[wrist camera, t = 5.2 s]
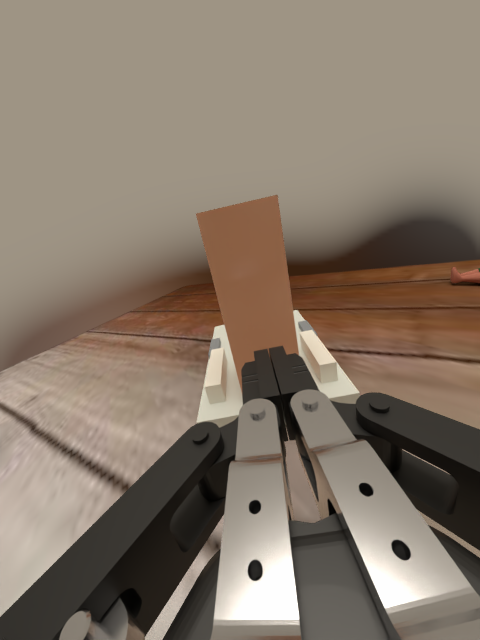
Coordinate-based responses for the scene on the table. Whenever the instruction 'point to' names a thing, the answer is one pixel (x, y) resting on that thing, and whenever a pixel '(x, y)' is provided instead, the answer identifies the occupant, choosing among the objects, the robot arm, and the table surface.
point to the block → (250, 277)
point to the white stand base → (223, 383)
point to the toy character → (465, 276)
